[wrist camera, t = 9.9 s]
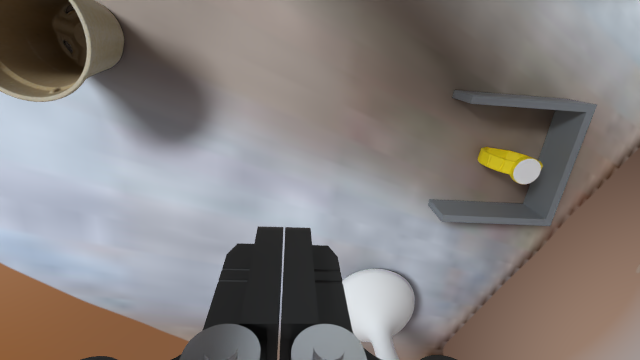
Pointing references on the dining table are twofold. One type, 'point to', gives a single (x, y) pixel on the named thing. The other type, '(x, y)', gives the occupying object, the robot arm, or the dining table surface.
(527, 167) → the watch
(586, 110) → the box
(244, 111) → the dining table surface
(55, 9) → the flower pot
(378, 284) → the flower in vase
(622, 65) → the dining table surface
